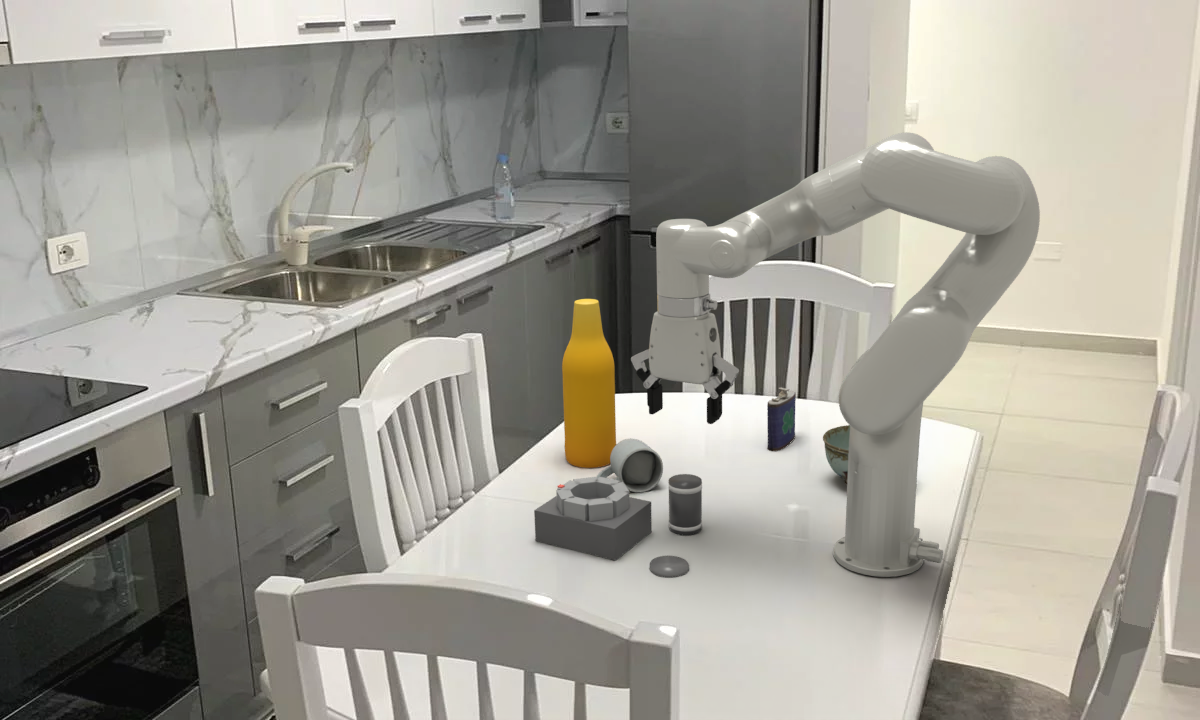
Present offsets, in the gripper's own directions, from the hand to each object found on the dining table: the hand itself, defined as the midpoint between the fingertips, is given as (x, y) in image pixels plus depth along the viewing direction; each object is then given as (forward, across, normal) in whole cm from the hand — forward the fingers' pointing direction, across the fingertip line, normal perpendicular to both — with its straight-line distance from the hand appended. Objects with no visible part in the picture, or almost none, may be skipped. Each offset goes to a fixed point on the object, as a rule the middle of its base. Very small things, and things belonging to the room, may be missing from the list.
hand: (684, 416), depth 172 cm
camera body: (+18, +11, +9) cm, 23 cm away
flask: (+18, +1, -41) cm, 45 cm away
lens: (+18, 0, 0) cm, 18 cm away
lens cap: (+18, -4, +13) cm, 23 cm away
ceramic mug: (+18, +16, -11) cm, 27 cm away
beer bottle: (+18, +28, -18) cm, 38 cm away
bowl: (+19, -18, -30) cm, 40 cm away
